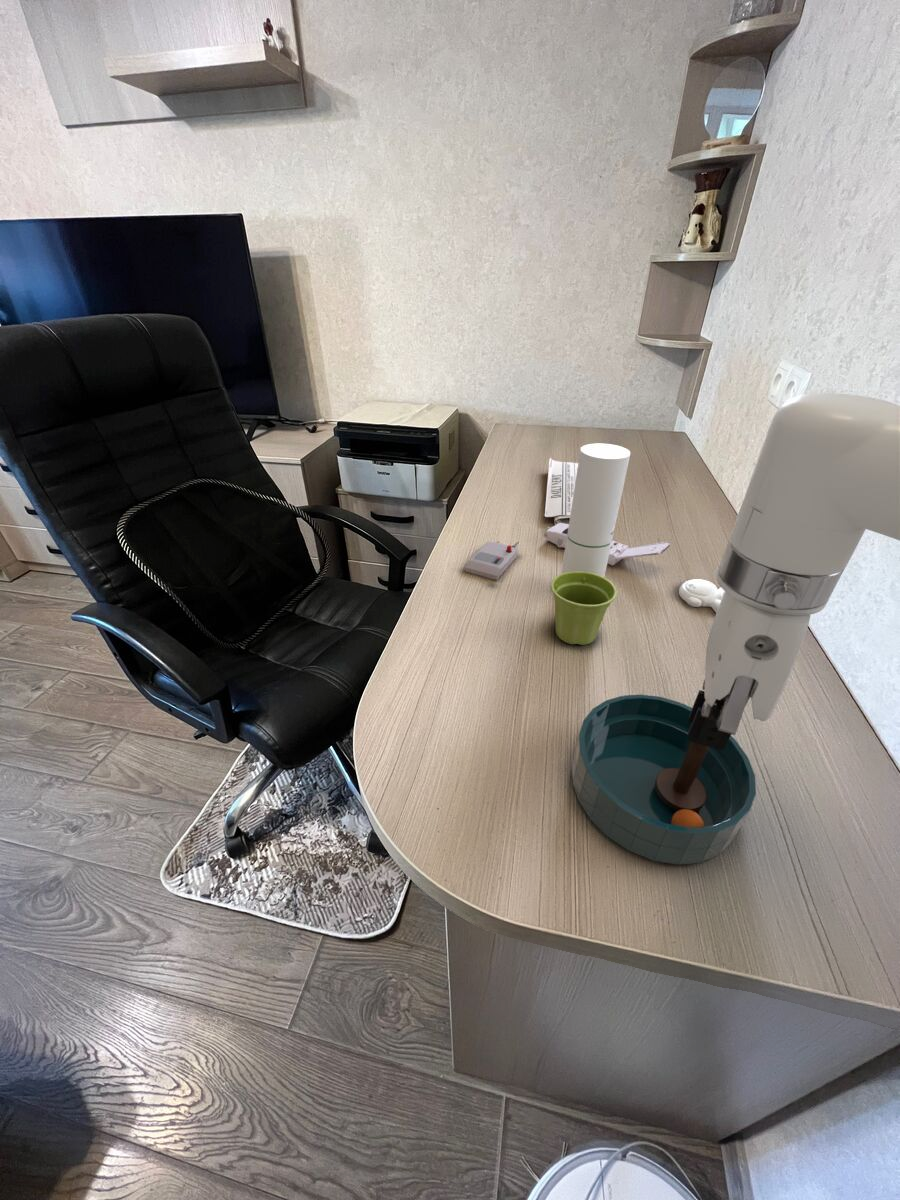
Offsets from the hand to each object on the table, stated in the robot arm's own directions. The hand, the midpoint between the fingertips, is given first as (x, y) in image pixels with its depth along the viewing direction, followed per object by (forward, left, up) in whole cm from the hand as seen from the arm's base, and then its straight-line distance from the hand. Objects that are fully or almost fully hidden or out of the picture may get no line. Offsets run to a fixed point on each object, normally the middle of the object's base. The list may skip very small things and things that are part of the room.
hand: (705, 733), depth 48 cm
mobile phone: (+19, -51, -11) cm, 56 cm away
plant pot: (+17, -24, -11) cm, 32 cm away
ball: (-1, +4, -9) cm, 10 cm away
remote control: (+36, -40, -11) cm, 55 cm away
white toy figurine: (-3, -43, -11) cm, 45 cm away
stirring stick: (0, 0, -9) cm, 9 cm away
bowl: (+3, 0, -11) cm, 11 cm away
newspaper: (+31, -77, -11) cm, 84 cm away
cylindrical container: (+19, -36, -11) cm, 42 cm away
